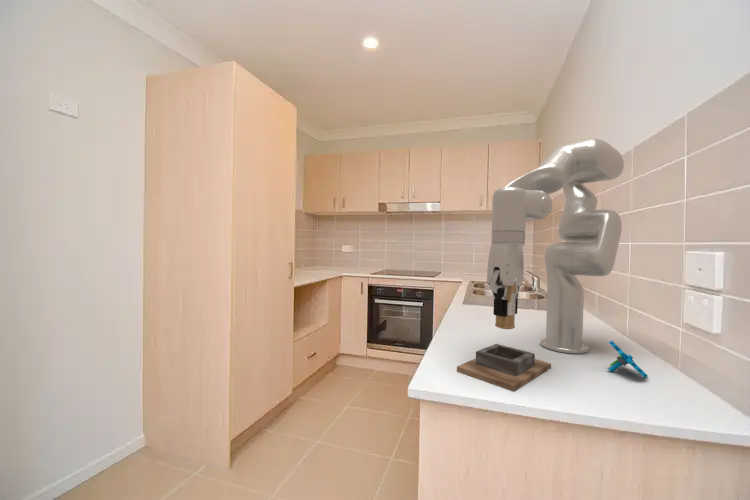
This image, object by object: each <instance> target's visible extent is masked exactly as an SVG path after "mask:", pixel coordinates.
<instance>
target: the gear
mask: <svg viewBox="0 0 750 500" xmlns="http://www.w3.org/2000/svg"><path fill="white" fill-rule="evenodd" d="M608 344H609V345H611V347H613V349H614V350H615V351H616V352H617V353H618V356H616V360H614V361H612V362H611V363H610V364H609V366H610V367H609V368H608V369H607V370H608V371H609V372H611V373H613V372H615V371H616V370H617V369H619V368H620V367H622V366H623V367H625V366H626V365H630V366H632V367H633V368H634V370H636V372H638V374H640V375H641V376H642V377H643V379H646V378H648V377H649V375H648V374H647V373H646V372H644V370H643V369H642V368H640V366H639V365H638V364H637V363H636V362H634V357H633V356H632V355H631V354H627V353H625V352H624V351H623V350H622V349H621V347H619V346H618V345H617V344H616V343H615V342H614V341H613V340H610V341H608Z"/></svg>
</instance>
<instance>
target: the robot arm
mask: <svg viewBox="0 0 750 500" xmlns="http://www.w3.org/2000/svg"><path fill="white" fill-rule="evenodd" d="M624 162H625V161H624V158H623V156H622V154H621V152H619V150H618V149H616V148H615V147H613V146H612V145H611V144H609V142H606V141H605V140H603V139H599V138H589V139H584V140H580V141H579V140H578V141H574V142H570V143H566V144H562V145H560V146H557V147H556V148H555V149H553V150H552V152H550V153H549V154H548V156H547V157H546V158H545V159H544V160H543V161H542V162H541V163H540V164H539V166H537V168H534V169H532V170H531V171H529V172H527V173H525V174H524V175H521V176H520V177H518V178H516V179H514V180H512V181H511V182H509V183H507V184H506V185H505V186H504V187H501V188H500V187H499V188H498V189H496V190H494V192H493V194H492V207H491V208H492V209H491V211H492V212H491V213H492V214H491V215H492V216H491V242H490V243H491V244H490V249H489V254H488V259H487V260H488V261H487V272H486V283H487V285H488V287H489V289H490V290H491V292H492V298H493V312H492V313H493V315H494V316H496V315H497V316H502V317H507V309H508V300H506V296H507V289H508V287H510V286H513V285H514V282H516V283H515V284H516V302H515V315H517V314H518V306H519V305H518V302H519V299H518V298H519V293H520V292H519V291H520V288H521V286H522V284H523V281H524V272H525V271H524V267H525V266H524V265H525V264H524V248H523V246H526V244H525V243H526V222H528V221H529V222H530V221H531V222H533V221H539V220H540V221H541V220H543V219H545V218H547V217H548V216H549V215H550V213H551V212H552V209H553V199H552V197H551V196H550V195H551V194H553V193H556V192H558V191H560V190H561V189H562V190H563V193H564V197H565V202H564V207H563V209H562V213H561V217H560V220H559V224H558V229H557V233H558V237H559V238H560V239H561V240H563V241H561V242H560V241H559V242H555V243H552V244H550V245H548V247H546V248H545V249H546V250H545V251H544V259H543V260H544V264H545V270H546V280H547V281H546V283H547V287H546V289H547V290H546V321H545V322H546V327H545V328H546V329H545V330H546V331H545V337H543V338H541V339H540V340H539V343H540V345H541V346H542V347H543V348H545V349H548V350H552V351H555V352H560V353H563V354H564V353H565V354H576V355H577V354H586V353H588V352H589V346H588V345H587V344H586V343H583V337H584V336H583V333H584V327H583V326H584V299H585V298H584V297H585V291H584V288H583V285H582V283H581V282H580V280H579V279H578V278H577V276H585V277H586V276H588V277H606V276H608V275H610V274H611V273H612V271H613V270H614V266H615V263H616V258H617V252H618V250H619V249H618V248H619V244H620V241H621V237H622V230H623V229H622V228H623V227H622V226H623V225H622V219H621V216H620V215H619V213H618V212H616V211H615V210H613V209H597V205H598V198H597V196H596V195H595V194H594V193H593V191H592V190H590V189H589V188H588V187H587V186H586V185H585V184H587V183H596V182H605V181H611V180H615V179H617V178H619V177H620V176H621V175H622V173H623V172H624V171H623V170H624V165H625V164H624ZM515 278H517V281H514V280H515ZM499 283H502V284H503V286H499V285H498V284H499ZM501 289H503V292H502V291H501Z"/></svg>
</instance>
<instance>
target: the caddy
mask: <svg viewBox="0 0 750 500" xmlns="http://www.w3.org/2000/svg"><path fill="white" fill-rule="evenodd" d="M535 355H536V353H533V352H530V351H526V350H522V349H519V348H515V347H510V346H508V345H507V346H506V345H502V344H498V343H495V344H492V345H489V346H486V347H484V348H482V349H479V350H477V351H475V358H474V359H473V358H472V360H471V359H470V360H469V361H467V362H464V363H462V364H459V365H457V366H456V372H458V373H461V374H464V375H465V376H466V375H467V376H470V377H473V378H474V379H478V380H481V381H484V382H486V383H489V384H493V385H495V386H497V387H500V388H504V389H506V390H509V391H512V392H516V391H517V390H519V389H521V388H522V387H524V386H526V385H527V384H528V383H530V382H531V381H533V380H535V379H537V378H538V377H540V376H541V375H543V374H545V373H546V372H547V371H549V370H551V368H552V363H550V362H547V361H543V360H540V359H536V357H535ZM548 369H549V370H548Z"/></svg>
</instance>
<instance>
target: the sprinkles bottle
mask: <svg viewBox="0 0 750 500" xmlns="http://www.w3.org/2000/svg"><path fill="white" fill-rule="evenodd" d="M514 281H517V278H515V280H514ZM515 283H516V282H514V285H513V286H510V287H508V289H507V296H506V300H508V309H507V317H502V316H497V315H495V324H494V326H495V327H497V328H499V329H502V330H513V329H515V328H516V326H515V320H516V319H515V318H516V317H515V316H516V314H515V302H516V284H515ZM498 285H499V286H503V284H502V283H499V284H498ZM501 291H502V292H503V289H501Z"/></svg>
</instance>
